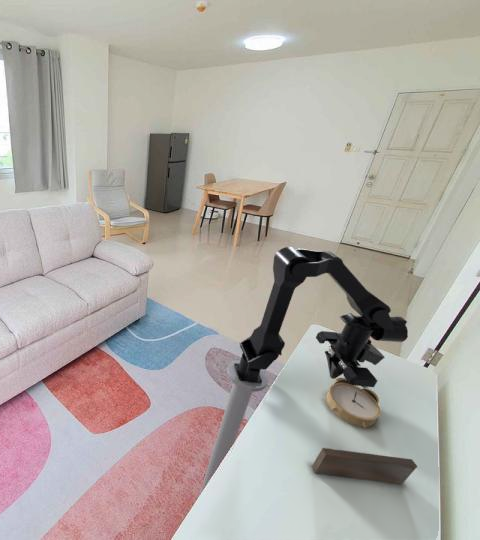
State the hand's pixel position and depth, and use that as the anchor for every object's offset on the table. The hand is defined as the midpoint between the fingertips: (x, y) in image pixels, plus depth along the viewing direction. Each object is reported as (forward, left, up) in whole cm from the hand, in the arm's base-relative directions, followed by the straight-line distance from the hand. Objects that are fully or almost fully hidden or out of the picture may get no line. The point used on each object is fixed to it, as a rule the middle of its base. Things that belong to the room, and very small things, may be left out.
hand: (332, 377), depth 86 cm
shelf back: (+26, -8, -3) cm, 28 cm away
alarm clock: (+7, +2, -3) cm, 8 cm away
